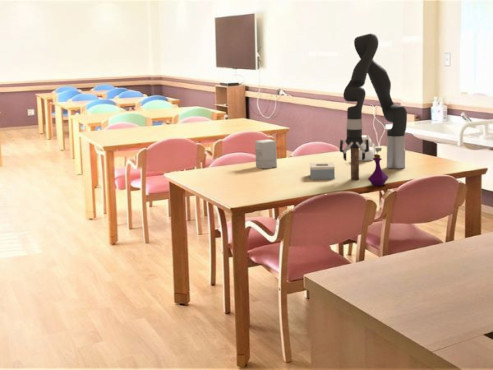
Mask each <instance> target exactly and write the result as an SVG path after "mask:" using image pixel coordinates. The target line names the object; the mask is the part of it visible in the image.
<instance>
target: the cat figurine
mask: <svg viewBox="0 0 493 370" xmlns="http://www.w3.org/2000/svg"><path fill="white" fill-rule="evenodd" d="M366 139H368V143H369V151H368V152H366V153H365V159H364V160H362V151H361V149H360V148H359V161H361V162H369V161H372V160H373V158H374V155H375V154H376V148H377V147H376V144H375V143H373V142H372V138H370V135H369V134H367V135H363V134H362V140H366ZM361 146H362V148H363V149H364V150H365V149H366V144H364V142H363V143H362V144H361Z"/></svg>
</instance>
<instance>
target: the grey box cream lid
mask: <svg viewBox="0 0 493 370" xmlns="http://www.w3.org/2000/svg"><path fill="white" fill-rule="evenodd" d="M335 170H336V169H335V164H334V162H309V171H310V172H309V173H310V174H309V175H310V176H309V177H310V180H335V179H336V178H335V174H336V173H335Z"/></svg>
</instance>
